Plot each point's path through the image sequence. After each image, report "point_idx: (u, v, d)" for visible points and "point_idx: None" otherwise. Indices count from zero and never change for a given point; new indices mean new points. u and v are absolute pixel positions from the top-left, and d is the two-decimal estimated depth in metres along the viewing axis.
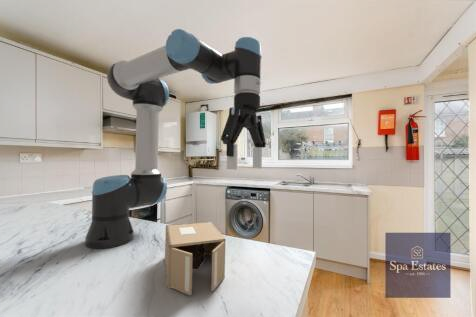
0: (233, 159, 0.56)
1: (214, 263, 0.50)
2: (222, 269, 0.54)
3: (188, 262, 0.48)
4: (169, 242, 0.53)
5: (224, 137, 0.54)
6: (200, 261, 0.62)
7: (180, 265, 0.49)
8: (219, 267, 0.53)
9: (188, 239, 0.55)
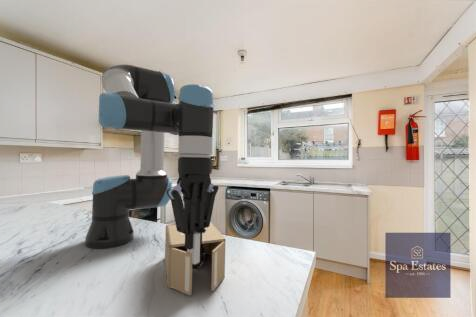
0: None
1: (214, 263, 0.50)
2: (222, 269, 0.54)
3: (188, 262, 0.48)
4: (169, 242, 0.53)
5: None
6: (200, 261, 0.62)
7: (180, 265, 0.49)
8: (219, 267, 0.53)
9: None
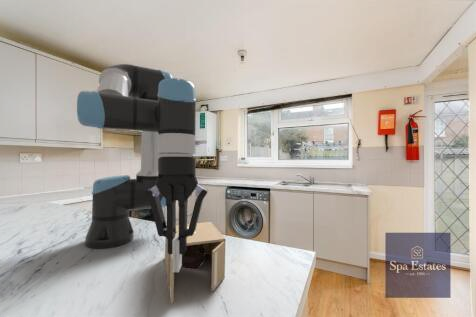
0: (181, 254, 0.46)
1: (214, 263, 0.50)
2: (222, 269, 0.54)
3: (171, 267, 0.45)
4: None
5: (193, 232, 0.45)
6: (200, 261, 0.62)
7: (170, 268, 0.48)
8: (219, 267, 0.53)
9: (188, 239, 0.55)
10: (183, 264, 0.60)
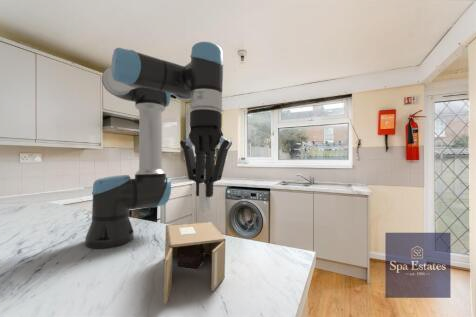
0: None
1: (214, 263, 0.50)
2: (222, 269, 0.54)
3: None
4: (169, 242, 0.53)
5: None
6: (200, 261, 0.62)
7: None
8: (219, 267, 0.53)
9: (188, 239, 0.55)
10: (183, 264, 0.60)
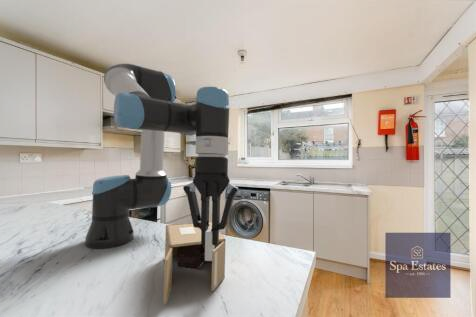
0: None
1: (214, 263, 0.50)
2: (222, 269, 0.54)
3: None
4: (169, 242, 0.53)
5: None
6: (200, 261, 0.62)
7: None
8: (219, 267, 0.53)
9: (188, 239, 0.55)
10: (183, 264, 0.60)
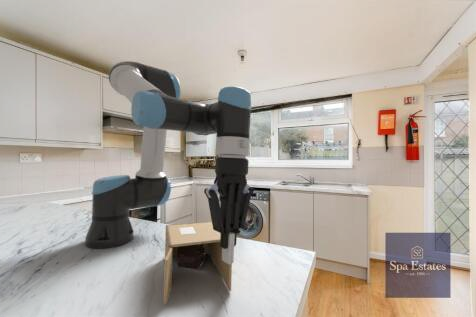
0: (227, 251, 0.48)
1: None
2: None
3: None
4: (169, 242, 0.53)
5: (215, 229, 0.47)
6: (200, 261, 0.62)
7: None
8: None
9: (188, 239, 0.55)
10: (183, 264, 0.60)
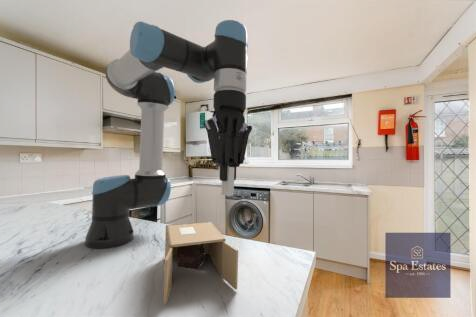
0: (227, 184, 0.49)
1: None
2: None
3: None
4: (169, 242, 0.53)
5: (215, 161, 0.48)
6: (200, 261, 0.62)
7: None
8: None
9: (188, 239, 0.55)
10: (183, 264, 0.60)
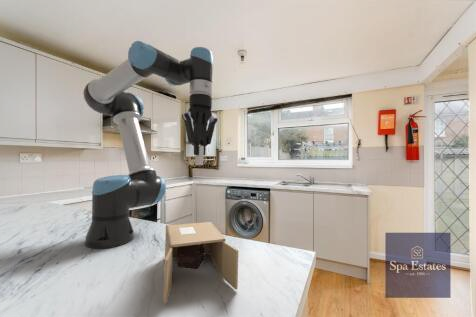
0: (198, 157, 0.73)
1: None
2: None
3: None
4: (169, 242, 0.53)
5: (190, 141, 0.72)
6: (200, 261, 0.62)
7: None
8: None
9: (188, 239, 0.55)
10: (183, 264, 0.60)
